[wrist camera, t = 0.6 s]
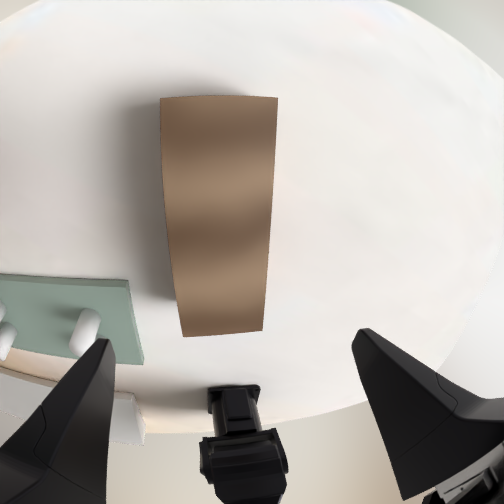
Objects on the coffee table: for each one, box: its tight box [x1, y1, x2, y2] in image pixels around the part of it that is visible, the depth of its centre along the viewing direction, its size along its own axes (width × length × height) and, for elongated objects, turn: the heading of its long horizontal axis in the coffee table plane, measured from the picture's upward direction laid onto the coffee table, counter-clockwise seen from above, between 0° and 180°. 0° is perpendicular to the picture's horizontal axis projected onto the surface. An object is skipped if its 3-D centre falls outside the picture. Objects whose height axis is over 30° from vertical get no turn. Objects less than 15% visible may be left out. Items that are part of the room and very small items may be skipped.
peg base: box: [0, 274, 144, 365], centre depth 19 cm, size 10×20×5 cm, turn 83°
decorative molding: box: [0, 367, 146, 446], centre depth 26 cm, size 34×5×10 cm
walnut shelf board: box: [160, 96, 278, 337], centre depth 18 cm, size 16×6×4 cm, turn 178°
